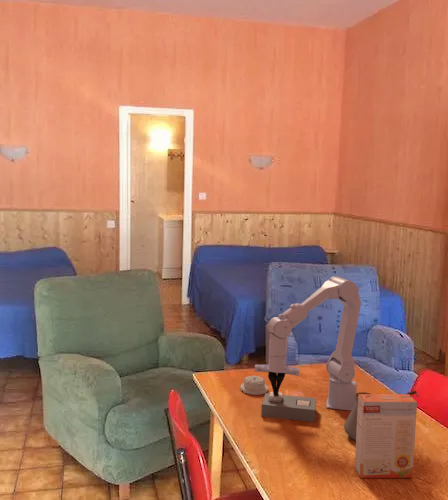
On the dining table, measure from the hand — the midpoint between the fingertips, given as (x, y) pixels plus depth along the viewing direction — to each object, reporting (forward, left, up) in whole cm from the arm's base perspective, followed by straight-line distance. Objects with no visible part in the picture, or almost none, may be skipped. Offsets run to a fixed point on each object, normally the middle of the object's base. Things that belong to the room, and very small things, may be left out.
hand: (275, 394), depth 187 cm
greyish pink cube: (0, 0, -4) cm, 4 cm away
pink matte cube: (-9, 0, -6) cm, 11 cm away
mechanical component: (+10, -17, -6) cm, 21 cm away
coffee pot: (-33, +11, -6) cm, 35 cm away
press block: (-5, 0, -6) cm, 7 cm away
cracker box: (-32, +32, -6) cm, 46 cm away
